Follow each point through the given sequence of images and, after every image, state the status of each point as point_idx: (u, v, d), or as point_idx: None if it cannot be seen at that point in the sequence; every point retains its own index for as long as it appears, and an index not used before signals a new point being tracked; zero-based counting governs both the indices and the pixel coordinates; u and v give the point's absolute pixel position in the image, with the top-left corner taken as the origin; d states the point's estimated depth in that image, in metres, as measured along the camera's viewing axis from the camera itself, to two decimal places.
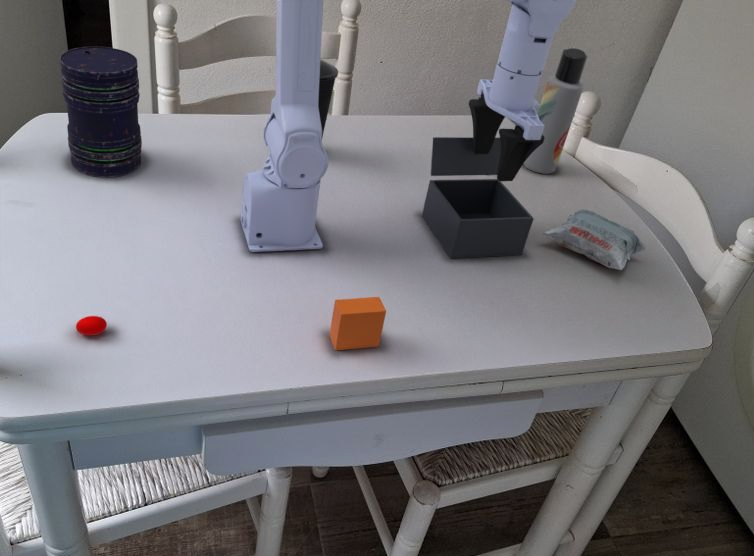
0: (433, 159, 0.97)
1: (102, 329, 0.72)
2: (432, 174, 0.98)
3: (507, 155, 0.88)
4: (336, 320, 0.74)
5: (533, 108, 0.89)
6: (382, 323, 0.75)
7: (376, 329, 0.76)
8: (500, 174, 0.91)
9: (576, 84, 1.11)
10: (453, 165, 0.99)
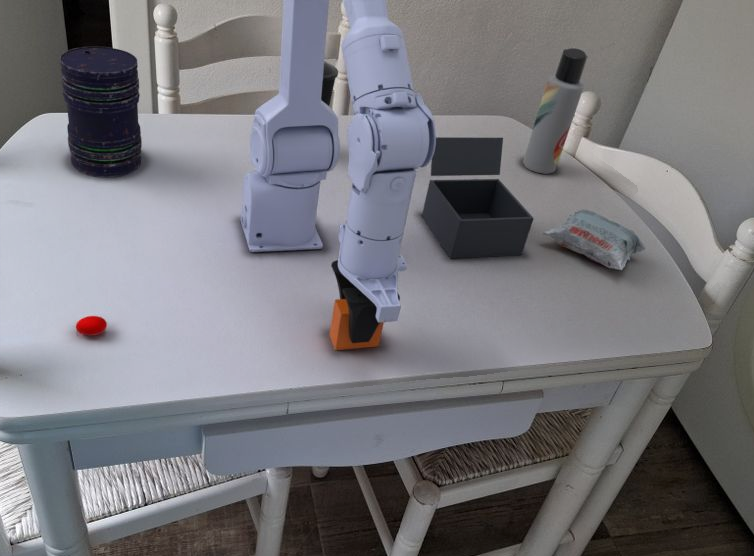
0: (433, 159, 0.97)
1: (102, 329, 0.72)
2: (432, 174, 0.98)
3: (355, 318, 0.72)
4: (336, 320, 0.75)
5: (395, 273, 0.70)
6: (382, 323, 0.75)
7: (376, 329, 0.76)
8: (351, 336, 0.74)
9: (576, 84, 1.11)
10: (453, 165, 0.99)
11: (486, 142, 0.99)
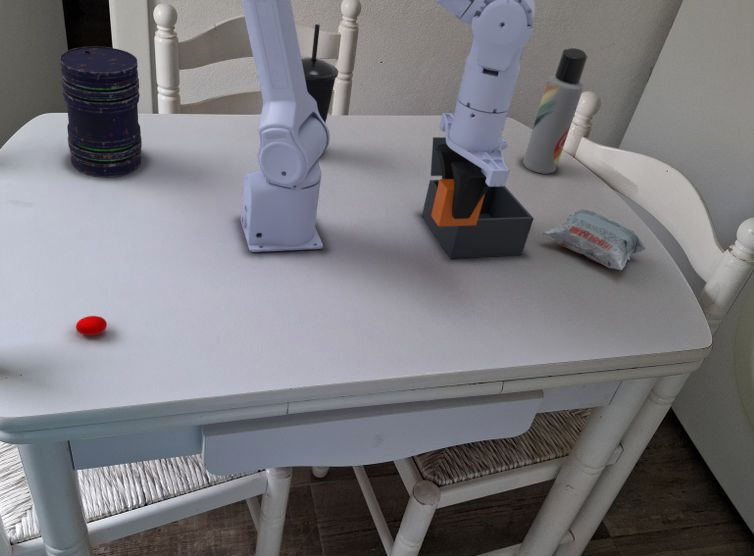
0: (433, 159, 0.97)
1: (102, 329, 0.72)
2: (432, 174, 0.98)
3: (461, 191, 0.80)
4: (441, 197, 0.83)
5: (499, 148, 0.78)
6: (481, 201, 0.83)
7: (476, 207, 0.84)
8: (455, 211, 0.82)
9: (576, 84, 1.11)
10: None
11: None
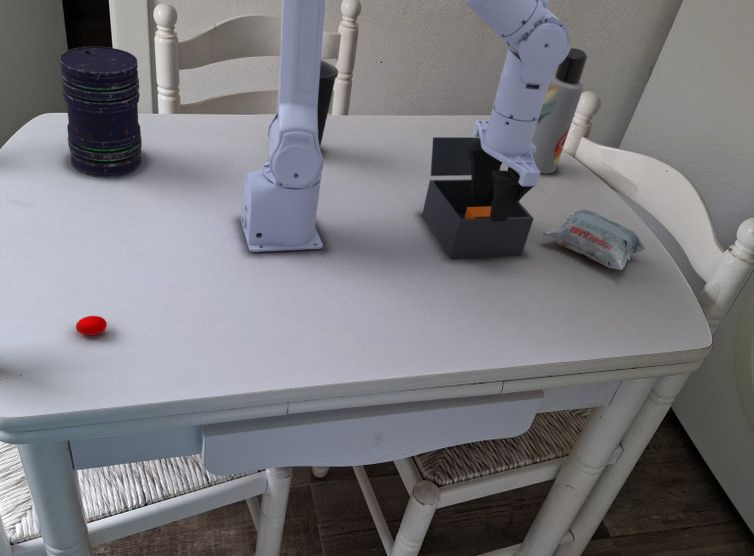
0: (433, 159, 0.97)
1: (102, 329, 0.72)
2: (432, 174, 0.98)
3: (500, 197, 0.88)
4: None
5: (529, 152, 0.88)
6: None
7: None
8: (493, 215, 0.91)
9: (576, 84, 1.11)
10: (453, 165, 0.99)
11: None
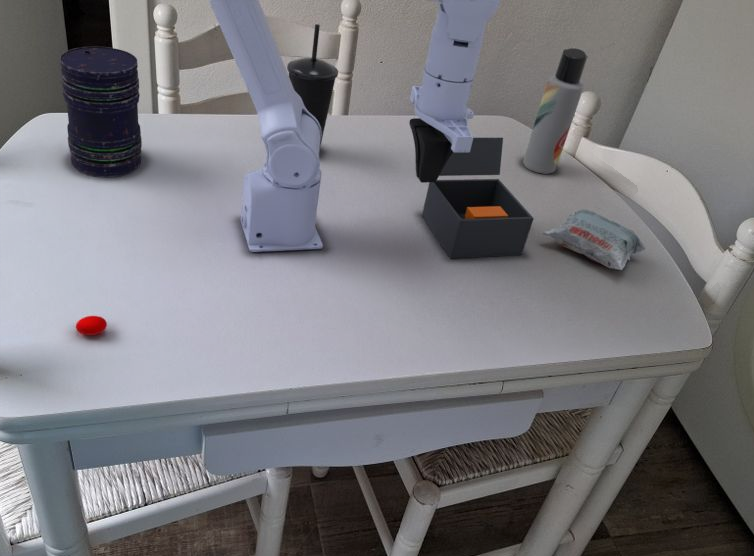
0: None
1: (102, 329, 0.72)
2: None
3: (426, 155, 0.84)
4: None
5: (465, 117, 0.82)
6: None
7: None
8: (421, 175, 0.87)
9: (576, 84, 1.11)
10: (453, 165, 0.99)
11: (486, 142, 0.99)
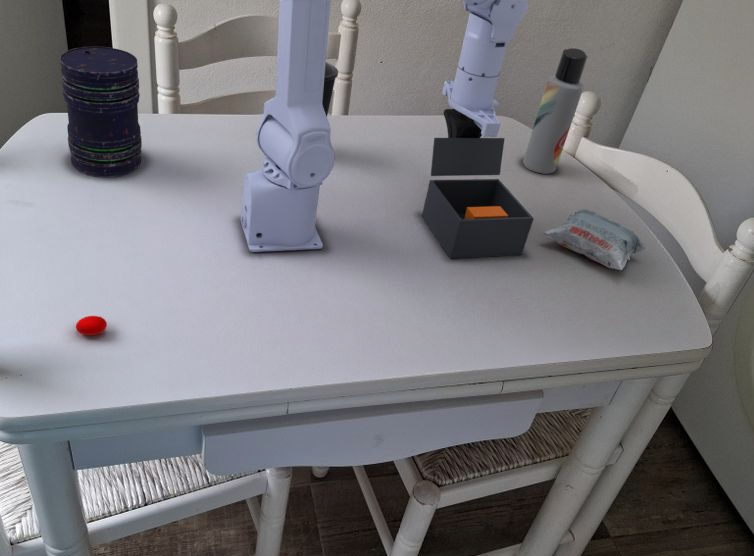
0: (434, 159, 0.97)
1: (102, 329, 0.72)
2: (432, 174, 0.98)
3: None
4: None
5: (492, 107, 0.96)
6: None
7: None
8: None
9: (576, 84, 1.11)
10: (453, 165, 0.98)
11: (487, 142, 0.99)
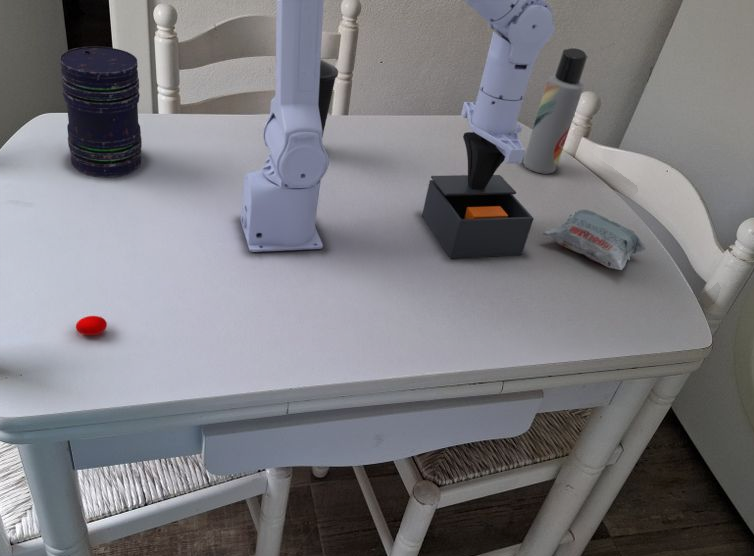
0: None
1: (102, 329, 0.72)
2: (432, 178, 0.98)
3: (478, 165, 0.93)
4: None
5: (515, 131, 0.91)
6: None
7: None
8: (472, 183, 0.95)
9: (576, 84, 1.11)
10: None
11: None
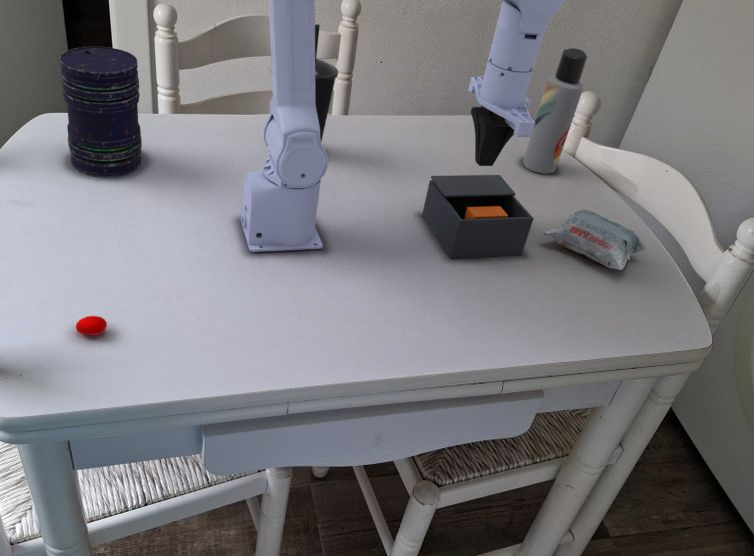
0: (437, 186, 0.97)
1: (102, 329, 0.72)
2: (432, 178, 0.98)
3: (486, 140, 0.90)
4: None
5: (524, 105, 0.88)
6: None
7: None
8: (480, 159, 0.93)
9: (576, 84, 1.11)
10: None
11: None
